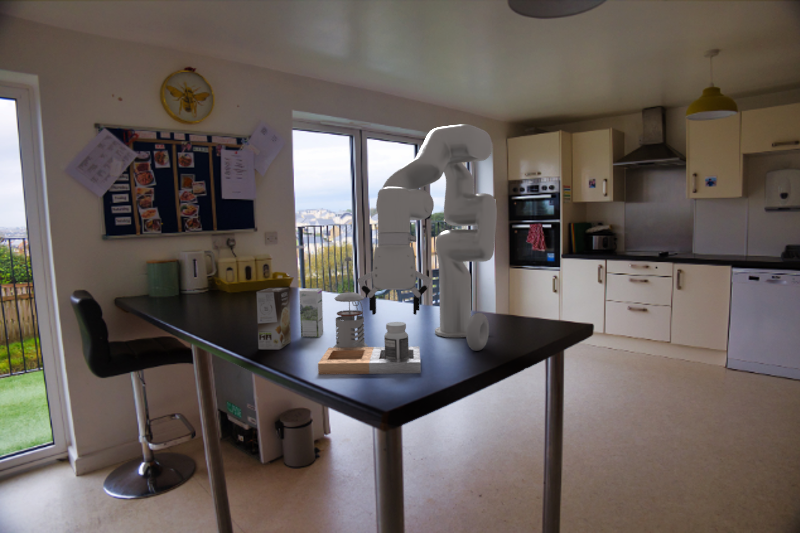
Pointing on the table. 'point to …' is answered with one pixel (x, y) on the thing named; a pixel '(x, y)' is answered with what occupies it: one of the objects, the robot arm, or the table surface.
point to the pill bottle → (396, 341)
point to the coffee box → (273, 318)
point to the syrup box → (311, 312)
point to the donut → (477, 331)
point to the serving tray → (367, 361)
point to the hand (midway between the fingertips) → (394, 313)
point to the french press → (349, 321)
